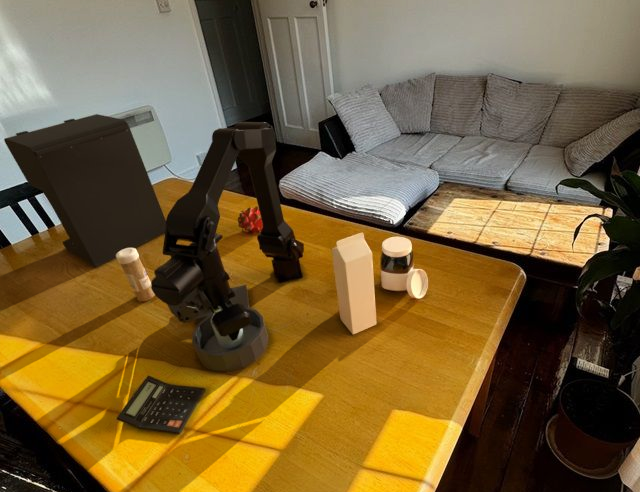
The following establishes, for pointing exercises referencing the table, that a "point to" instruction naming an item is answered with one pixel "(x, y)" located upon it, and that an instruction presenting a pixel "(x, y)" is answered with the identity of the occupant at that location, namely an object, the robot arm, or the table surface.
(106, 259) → the dark brown slanted box
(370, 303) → the milk
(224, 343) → the bottle
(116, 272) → the table surface
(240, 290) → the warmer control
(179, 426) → the calculator
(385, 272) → the spread jar
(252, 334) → the bottle warmer
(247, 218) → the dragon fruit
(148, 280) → the sprinkles bottle
